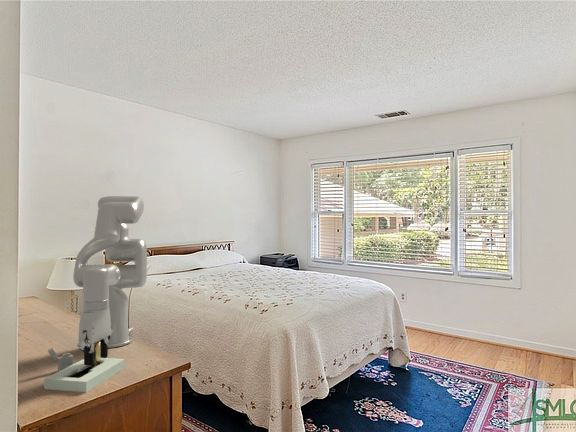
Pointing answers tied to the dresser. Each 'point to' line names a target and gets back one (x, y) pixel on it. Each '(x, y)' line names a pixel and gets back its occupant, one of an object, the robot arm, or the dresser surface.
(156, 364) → the dresser surface
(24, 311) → the dresser surface
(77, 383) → the board
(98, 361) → the peg
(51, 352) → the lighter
